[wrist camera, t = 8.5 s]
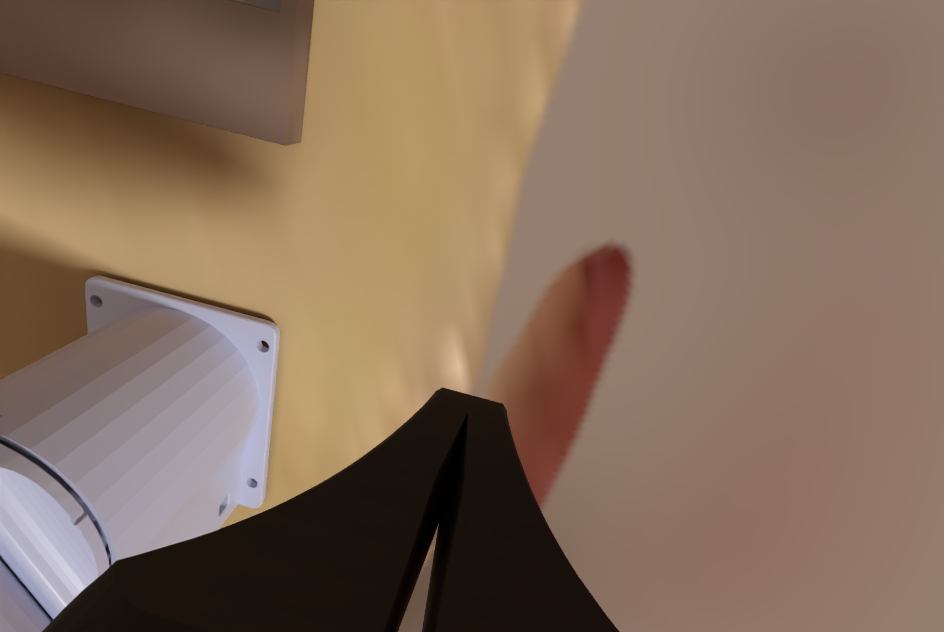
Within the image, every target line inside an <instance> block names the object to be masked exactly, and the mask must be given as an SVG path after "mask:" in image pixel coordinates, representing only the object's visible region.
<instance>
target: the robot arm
mask: <svg viewBox="0 0 944 632" xmlns="http://www.w3.org/2000/svg"><path fill="white" fill-rule="evenodd" d="M97 296H98V297H99V298H100V299H101V300H102V303H101V302H100V301H99V300H98V297H97ZM85 300H86V315H87V331H88V334H87V335H85V336H83V337H81V338H79V339H77V340H75V341H73V342H71V343H69V344H67V345H66V346H64V347H62V348H60V349H58V350H56V351H54V352H52V353H50V354H48V355H46V356H44V357H43V358H41V359H39V360H37V361H35V362H33V363H31V364H29V365H27V366H25V367H23V368H21V369H20V370H18V371H16V372H14V373H12V374H10V375H8V376H6V377H4V378H2V379H0V632H398V630H399V627H400V624H401V622H402V619H403V616H404V614H405V611H406V608H407V606H408V603H409V601H410V598H411V595H412V593H413V590H414V587H415V585H416V582H417V579H418V577H419V574H420V572H421V569H422V566H423V564H424V561H425V558H426V556H427V553H428V550H429V548H430V545H431V542H432V540H433V537H434V534H435V532H436V529H437V526H438V524H439V526H438V532H437V539H436V545H435V551H434V558H433V564H432V571H431V577H430V583H429V590H428V596H427V603H426V610H425V615H424V622H423V629H422V632H619V631H618V629H617V628H616V627H615V626H614V624H613V623H612V622H611V621H610V619H609V618H608V617H607V616H606V614H605V613H604V612H603V610H602V609H601V607H600V606H599V605H598V603H597V602H596V600H595V599H594V598H593V596H592V595H591V593H590V592H589V591H588V589H587V588H586V587H585V585H584V584H583V582H582V581H581V579H580V578H579V577H578V575H577V574H576V572H575V571H574V569H573V567H572V566H571V564H570V563H569V561H568V559H567V558H566V556H565V555H564V553H563V551H562V549H561V548H560V546H559V544H558V542H557V541H556V539H555V537H554V535H553V534H552V532H551V530H550V528H549V526H548V524H547V522H546V520H545V518H544V516H543V514H542V512H541V510H540V508H539V505H538V503H537V501H536V499H535V497H534V495H533V492H532V490H531V488H530V485H529V483H528V480H527V478H526V475H525V473H524V470H523V467H522V465H521V462H520V459H519V457H518V454H517V450H516V447H515V444H514V441H513V437H512V434H511V430H510V426H509V422H508V417H507V410H506V409H505V407H504V405H503V404H501V403H498V402H494V401H490V400H487V399H483V398H479V397H476V396H472V395H468V394H464V393H461V392H457V391H453V390H450V389H446V388H441V389H439V390H437V391H436V392H435V393H434V394H433V396H432V397H431V398H430V399H429V400H428V401H427V402H426V403H425V405H424V406H423V407H422V408H421V409H420V410H419V411H417V412H416V413H415V414H414V415H413V416H412V417H411V418H410V419H409V420H408V421H407V422H406V423H404V424H403V425H402V426H401V427H400V428H399V429H397V430H396V431H395V432H394V433H393V434H392V435H391V436H389V437H388V438H387V439H386V440H384V441H383V442H382V443H380V444H379V445H378V446H376V447H375V448H373V449H372V450H371V451H369V452H368V453H367V454H365V455H364V456H363V457H361V458H360V459H359V460H357V461H356V462H354V463H353V464H351V465H350V466H348V467H347V468H345V469H343V470H342V471H340V472H339V473H337V474H335V475H334V476H332V477H330V478H329V479H327V480H325V481H324V482H322V483H320V484H318V485H317V486H315V487H313V488H311V489H309V490H307V491H305V492H303V493H301V494H299V495H297V496H295V497H294V498H292V499H290V500H288V501H286V502H284V503H282V504H279V505H277V506H275V507H273V508H271V509H269V510H267V511H264V512H262V513H259V514H257V515H254V516H252V517H250V518H247V519H245V520H242V521H240V522H237V523H235V524H232V525H229V526H227V527H224V528H221V529H219V528H220V527H221V526H222V524H223V523H224V522H225V520H226V519H227V518H228V517H229V515H230V514H231V513H232V511H233V510H234V509H235V507H236V506H237V505H238V504H239V505H242V506H246V507H250V508H257V507H259V506H260V505H261V504H262V503H263V501H264V499H265V491H266V480H267V469H268V459H269V448H270V437H271V426H272V415H273V405H274V394H275V383H276V372H277V361H278V350H279V340H280V331H279V329H278V327H277V326H276V325H275V324H274V323H273V322H271V321H268V320H265V319H261V318H257V317H253V316H250V315H246V314H242V313H238V312H235V311H231V310H227V309H224V308H220V307H216V306H212V305H209V304H205V303H201V302H197V301H194V300H190V299H186V298H183V297H179V296H175V295H171V294H168V293H164V292H160V291H156V290H153V289H149V288H145V287H142V286H138V285H134V284H130V283H127V282H123V281H119V280H115V279H112V278H108V277H104V276H98V275H97V276H94V277H92V278H89V279H87V281H86V282H85ZM261 341H265V342H267V344H268V345H269V348H266V347H264V346H263V345H262V342H261ZM252 479H254V480H256V481H257V482H255V481H253V480H252Z"/></svg>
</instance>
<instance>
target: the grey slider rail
mask: <svg viewBox="0 0 944 632" xmlns="http://www.w3.org/2000/svg"><path fill="white" fill-rule="evenodd" d="M313 8H314V0H0V73H3V74H7V75H11V76H15V77H19V78H23V79H27V80H31V81H34V82H38V83H42V84H46V85H50V86H54V87H58V88H62V89H66V90H70V91H74V92H78V93H81V94H85V95H89V96H93V97H97V98H101V99H105V100H109V101H113V102H117V103H121V104H125V105H128V106H132V107H136V108H140V109H144V110H148V111H152V112H156V113H160V114H164V115H168V116H172V117H176V118H179V119H183V120H187V121H191V122H195V123H199V124H203V125H207V126H211V127H215V128H219V129H223V130H226V131H230V132H234V133H238V134H242V135H246V136H250V137H254V138H258V139H262V140H266V141H270V142H273V143H277V144H281V145H290V144H295V143H300V142H301V135H302V124H303V113H304V103H305V92H306V82H307V71H308V61H309V50H310V39H311V29H312V18H313Z"/></svg>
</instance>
